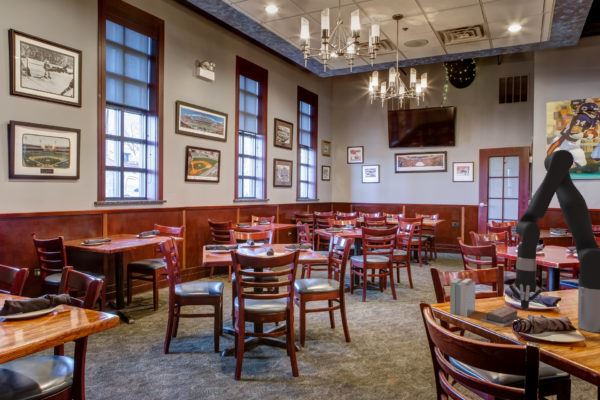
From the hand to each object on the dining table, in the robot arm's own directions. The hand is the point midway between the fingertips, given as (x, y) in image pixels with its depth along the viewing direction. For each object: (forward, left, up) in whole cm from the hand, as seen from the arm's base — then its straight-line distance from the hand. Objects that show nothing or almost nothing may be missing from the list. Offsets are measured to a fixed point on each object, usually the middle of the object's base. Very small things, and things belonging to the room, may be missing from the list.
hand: (524, 308), depth 176 cm
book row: (+26, -1, -6) cm, 27 cm away
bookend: (+26, -1, -6) cm, 26 cm away
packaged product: (+9, +1, -7) cm, 11 cm away
